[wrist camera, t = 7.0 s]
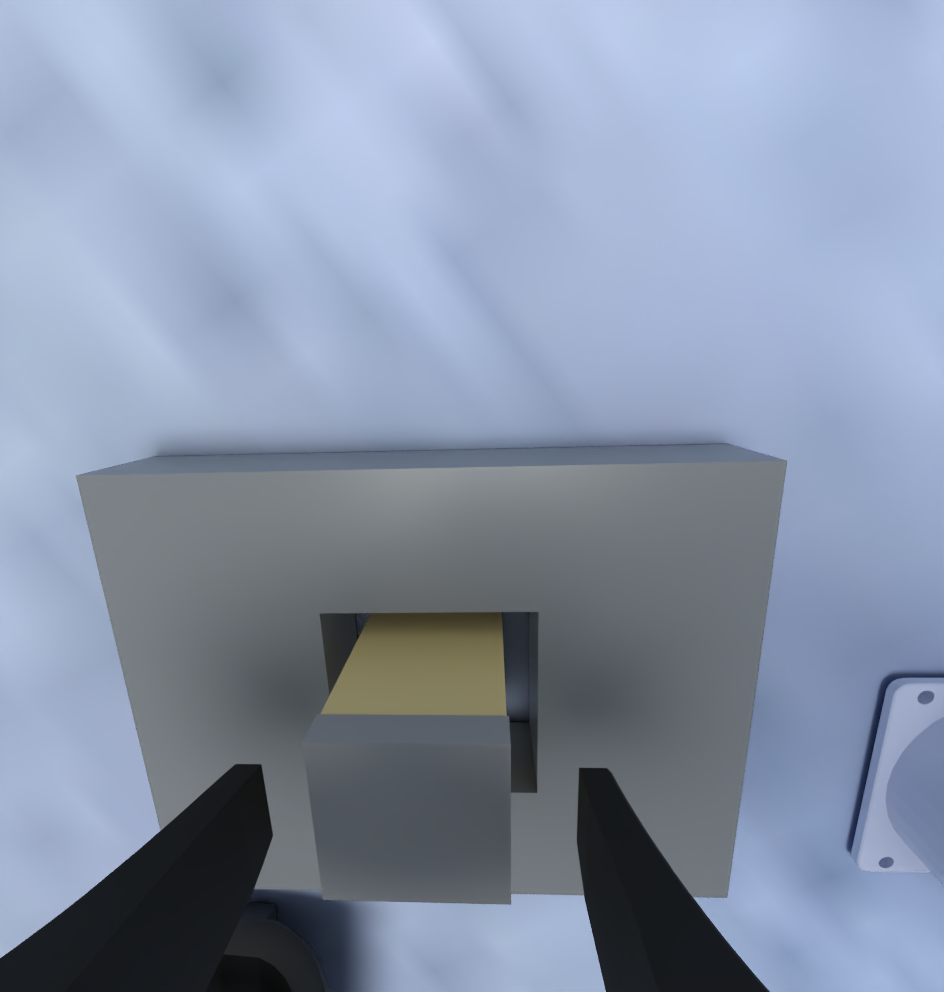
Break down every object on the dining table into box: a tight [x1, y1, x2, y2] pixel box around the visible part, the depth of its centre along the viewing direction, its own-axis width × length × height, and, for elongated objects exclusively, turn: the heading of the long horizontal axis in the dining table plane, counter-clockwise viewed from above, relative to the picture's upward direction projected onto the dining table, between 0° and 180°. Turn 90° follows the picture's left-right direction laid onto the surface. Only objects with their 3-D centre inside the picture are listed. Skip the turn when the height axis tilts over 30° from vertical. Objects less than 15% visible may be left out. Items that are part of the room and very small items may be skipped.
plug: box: [302, 612, 511, 904], centre depth 13 cm, size 4×4×7 cm
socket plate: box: [76, 444, 787, 898], centre depth 15 cm, size 18×14×3 cm
